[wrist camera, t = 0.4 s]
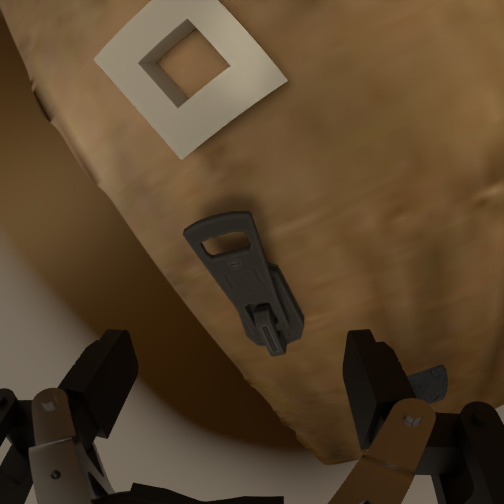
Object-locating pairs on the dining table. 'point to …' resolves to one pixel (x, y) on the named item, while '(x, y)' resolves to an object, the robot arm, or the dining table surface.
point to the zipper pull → (250, 281)
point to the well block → (161, 85)
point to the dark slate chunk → (430, 384)
